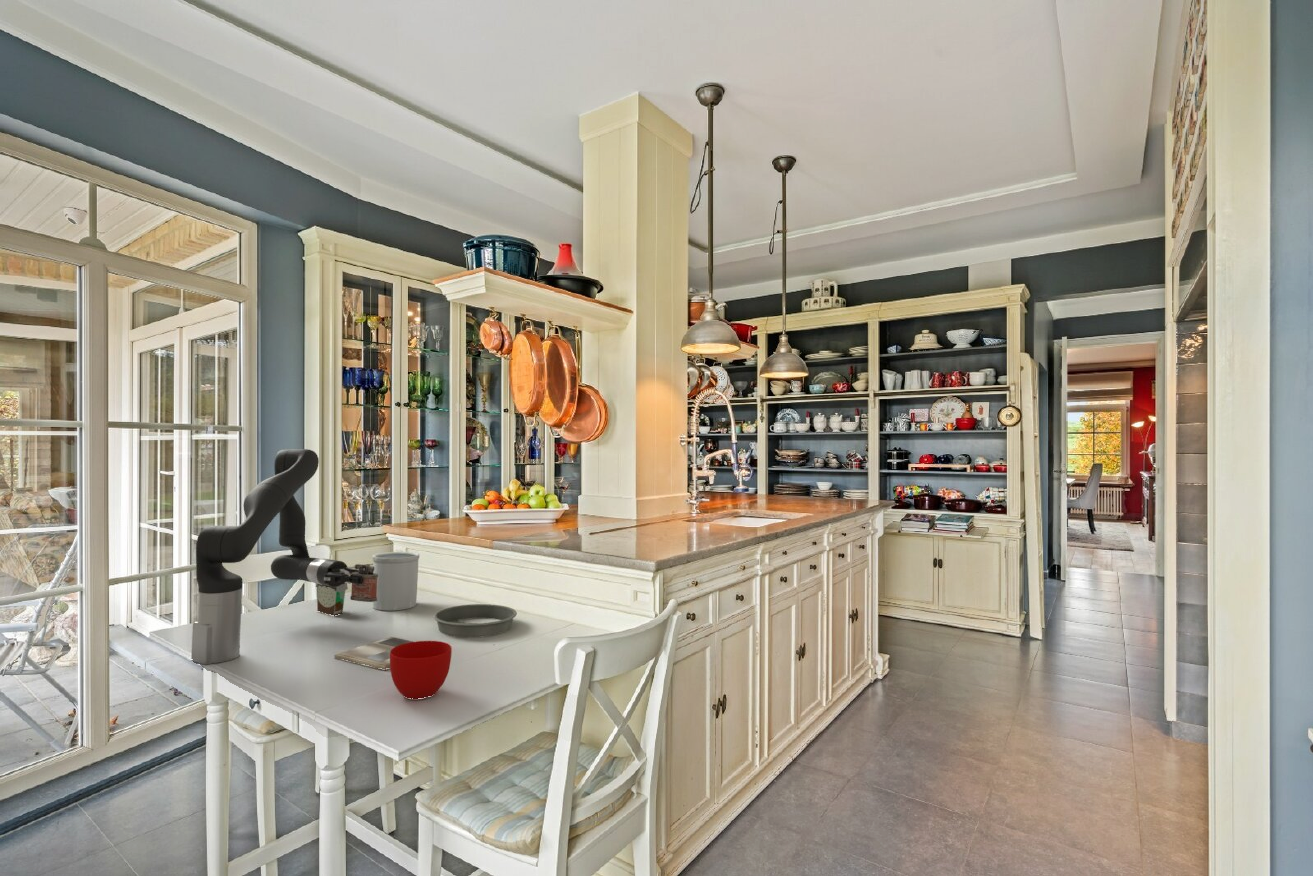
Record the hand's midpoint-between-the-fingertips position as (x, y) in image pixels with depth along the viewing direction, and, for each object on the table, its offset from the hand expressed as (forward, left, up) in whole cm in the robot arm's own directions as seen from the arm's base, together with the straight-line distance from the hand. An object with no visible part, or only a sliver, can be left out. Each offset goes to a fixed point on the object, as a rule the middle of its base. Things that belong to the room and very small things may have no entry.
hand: (368, 579), depth 181 cm
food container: (+14, +31, -17) cm, 38 cm away
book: (-6, -16, -17) cm, 24 cm away
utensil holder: (+30, +22, -17) cm, 41 cm away
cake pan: (+25, -18, -17) cm, 35 cm away
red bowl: (-21, -42, -17) cm, 50 cm away
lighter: (0, +1, -6) cm, 6 cm away
